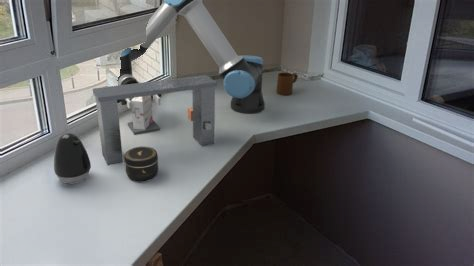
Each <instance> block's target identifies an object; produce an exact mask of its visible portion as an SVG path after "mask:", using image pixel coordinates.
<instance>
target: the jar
mask: <svg viewBox="0 0 474 266" xmlns="http://www.w3.org/2000/svg"><path fill="white" fill-rule="evenodd" d="M123 157H124V158H123V163H124V166H125V174H126V176H127V178H128V179H130V180H131V181H133V182H135V183H136V182H138V183H145V182H149V181H151V180H154V179H155V178H156V177H157V174H158V172H159V171H158V170H159V160H158V159H159V157H158V151H157V149H155V148H153V147H150V146H135V147H131V148H129V149H128V150H126V152H125V153H124V156H123Z"/></svg>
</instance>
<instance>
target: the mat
mask: <svg viewBox="0 0 474 266" xmlns="http://www.w3.org/2000/svg"><path fill="white" fill-rule="evenodd" d="M127 126H128V128H129V130H130V131H131V132H132V134H133V135H134V136H137V135H142V134H146V133H148V134H149V133H154V132H159V131H161V127H160V126H159V125H158V124H157V122H156V121H155V120H154V119H153V121H152V123H151V124H150V125H149V126H148V127H147V128H146V129H145V130H141V129H134V127H133V121H129V122H127Z"/></svg>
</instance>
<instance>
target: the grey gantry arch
mask: <svg viewBox="0 0 474 266" xmlns="http://www.w3.org/2000/svg"><path fill="white" fill-rule="evenodd" d="M217 82H218V81H216V80H214V79H213V78H212V77H210V76H209V75H207V74H202V75H195V76H187V77H177V78H169V79H162V80H161V79H160V80H154V81H146V82H145V81H144V82H139V83H135V84H127V85H119V86H117V85H112V86H105V87H104V86H102V87H96V88H95V87H94V88H92V93H93V95H94V97H95V103H96V104H95V105H96V112H97V120H98V129H99V130H98V131H99V136H100V146H101V154H102V157H103V159H104V161H105V163H106V165H107V166H112V165H117V164H123V163H124V158H123V157H124V156H123V146H122V136H121V128H120V118H119V117H120V116H119V108H118V107H119V106H118V103H117V100H120V99H133V98H135V97H142V96H150V95H157V94H161V95H164V94H171V93H177V92H184V91H192V93H191V94H192V107H193V121H192V137H193V139H194V140H195V141H196V142H197V144H199V145H200V146H201V147H206V146H211V145H215V136H216V135H215V123H216V122H215V121H216V120H215V118H216V115H215V114H216V112H215V110H216V108H215V107H216V102H215V101H216V98H215V97H216V96H215V95H216V90H215V89H216V87H218V85H217V84H218V83H217ZM203 122H209V123H210V124H211V125H212V129H210V130H207V129H206V128H205V127H204V126H203Z"/></svg>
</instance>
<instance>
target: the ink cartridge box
mask: <svg viewBox="0 0 474 266" xmlns="http://www.w3.org/2000/svg"><path fill="white" fill-rule="evenodd" d="M130 102H131V114H132V122H133V127H134V129H141V130H145V129H146V128H147V127H148V126H149V125H150V124H151V123H152V121H153V120H154V119H153V106H152V105H153V104H152V103H153V102H152V98H151V95H150V96H142V97H135V98H131V100H130Z"/></svg>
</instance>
